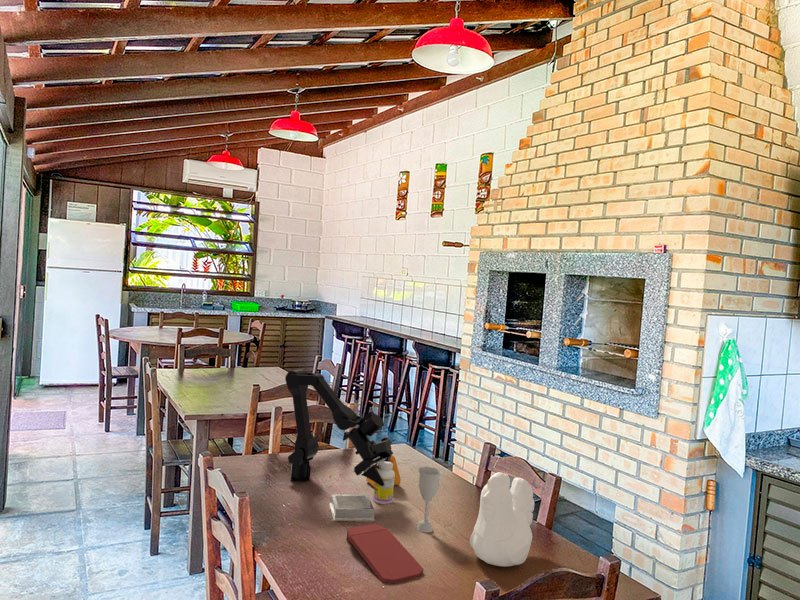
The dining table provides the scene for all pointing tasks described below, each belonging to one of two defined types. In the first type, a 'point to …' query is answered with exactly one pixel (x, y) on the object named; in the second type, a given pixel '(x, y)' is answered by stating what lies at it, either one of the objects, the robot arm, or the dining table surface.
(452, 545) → the dining table surface
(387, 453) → the robot arm
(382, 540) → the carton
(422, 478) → the chalice
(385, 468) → the supplement bottle
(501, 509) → the white bunny figurine
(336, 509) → the square shallow tray
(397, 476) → the bracket
